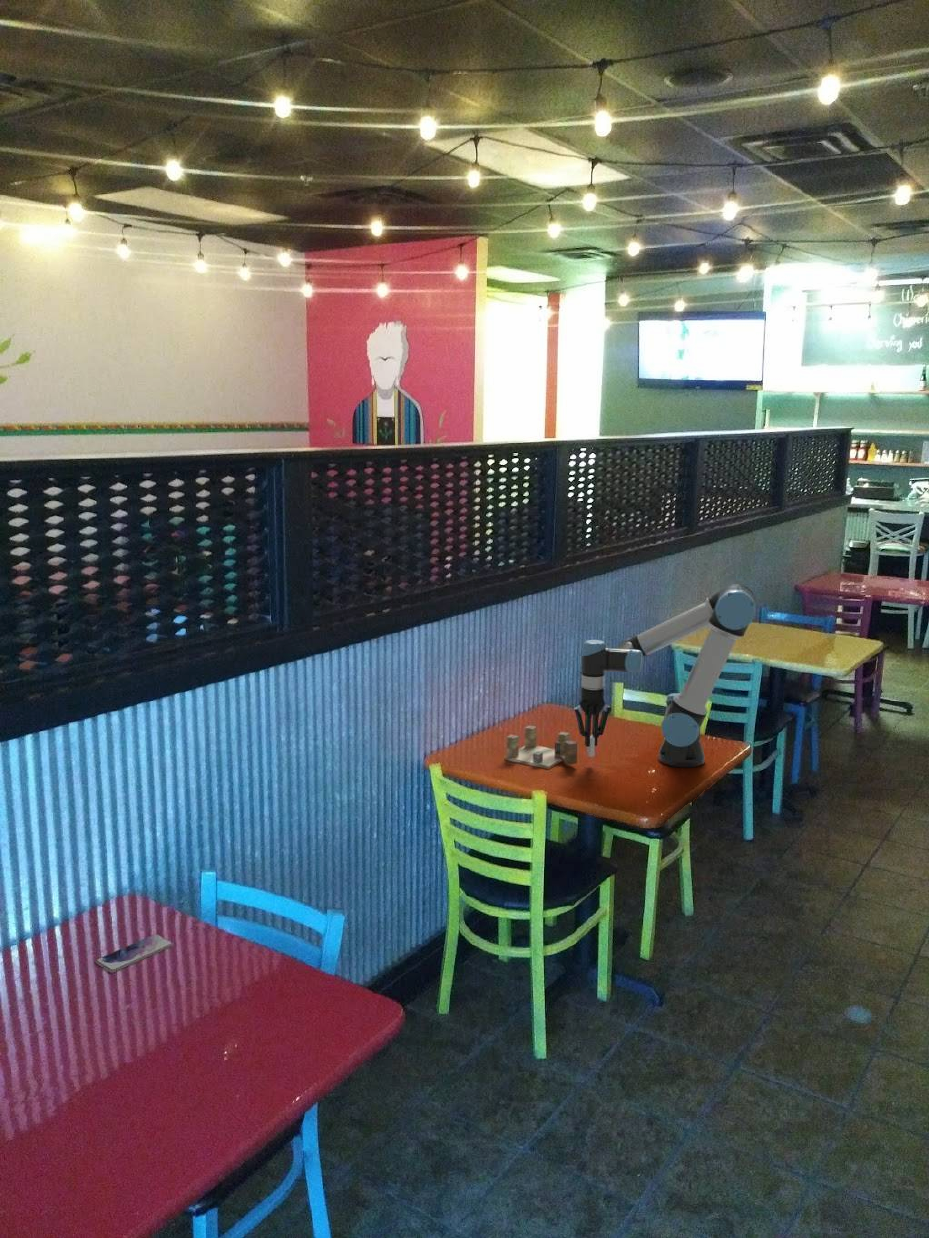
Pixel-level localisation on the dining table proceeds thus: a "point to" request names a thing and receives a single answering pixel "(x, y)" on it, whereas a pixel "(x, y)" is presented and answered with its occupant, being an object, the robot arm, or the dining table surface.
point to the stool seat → (534, 749)
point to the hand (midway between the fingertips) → (590, 755)
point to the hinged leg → (567, 752)
